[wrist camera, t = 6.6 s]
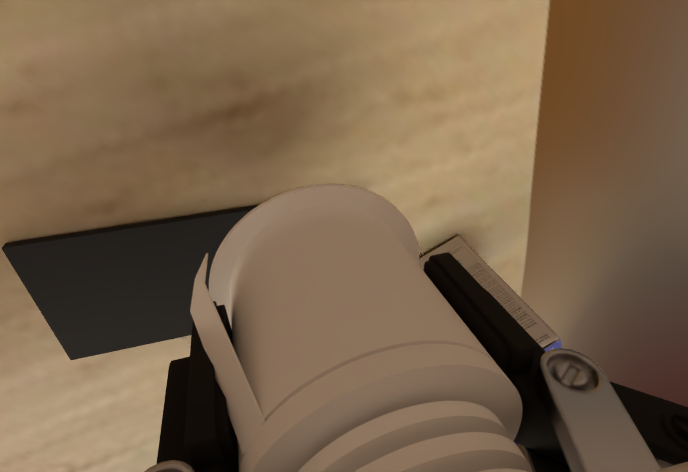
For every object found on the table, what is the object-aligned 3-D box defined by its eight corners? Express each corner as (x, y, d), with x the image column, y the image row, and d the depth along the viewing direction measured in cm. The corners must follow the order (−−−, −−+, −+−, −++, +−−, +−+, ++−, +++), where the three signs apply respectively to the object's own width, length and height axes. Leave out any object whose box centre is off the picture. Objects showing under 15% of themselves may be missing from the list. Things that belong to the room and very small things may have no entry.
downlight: (459, 228, 14) (830, 565, 5) (362, 366, 16) (520, 750, 8) (247, 133, 10) (403, 734, 2) (160, 330, 12) (50, 992, 4)
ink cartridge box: (383, 327, 36) (462, 488, 24) (358, 291, 33) (435, 455, 21) (474, 274, 36) (601, 411, 24) (458, 232, 32) (594, 366, 21)
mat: (73, 354, 29) (70, 360, 28) (5, 242, 23) (0, 248, 23) (354, 295, 33) (356, 300, 33) (351, 190, 28) (354, 194, 27)
